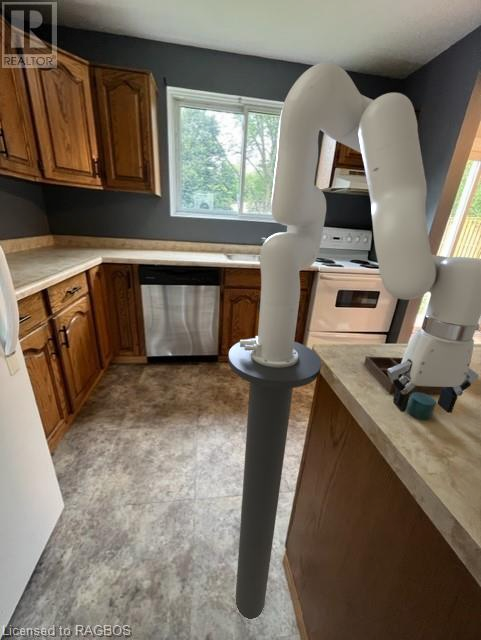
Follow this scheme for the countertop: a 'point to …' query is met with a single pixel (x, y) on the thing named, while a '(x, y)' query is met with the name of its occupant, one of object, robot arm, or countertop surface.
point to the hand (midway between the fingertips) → (421, 407)
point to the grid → (379, 370)
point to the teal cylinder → (421, 406)
